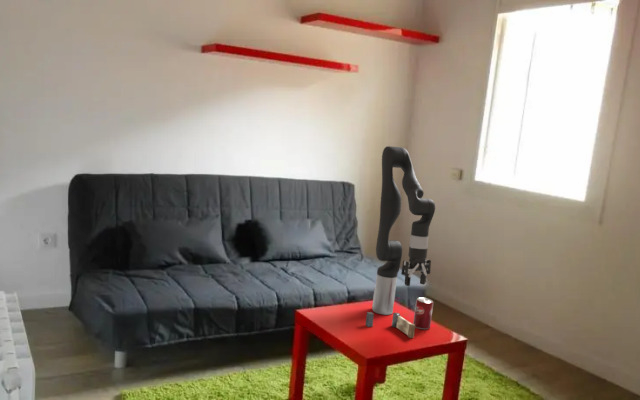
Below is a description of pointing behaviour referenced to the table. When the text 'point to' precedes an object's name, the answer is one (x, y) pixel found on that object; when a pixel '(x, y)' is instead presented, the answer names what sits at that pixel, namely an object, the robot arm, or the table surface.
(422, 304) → the soda can
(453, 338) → the table surface
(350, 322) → the table surface
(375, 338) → the table surface
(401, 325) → the gate
